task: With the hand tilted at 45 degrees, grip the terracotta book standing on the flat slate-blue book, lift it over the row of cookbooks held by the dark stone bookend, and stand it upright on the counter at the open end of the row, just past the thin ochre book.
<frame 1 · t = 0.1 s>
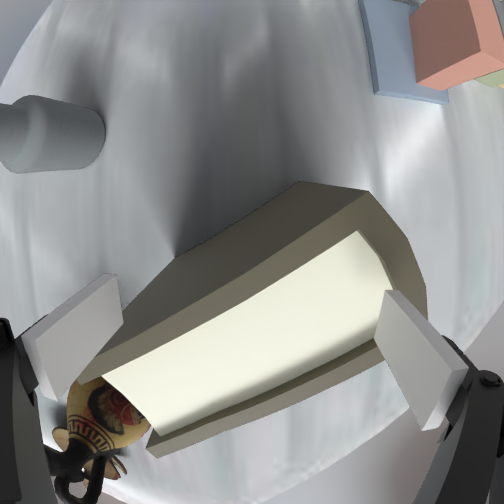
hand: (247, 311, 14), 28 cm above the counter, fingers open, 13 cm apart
ceramic jug: (133, 374, 50), on the counter
oil lamp: (90, 447, 59), on the counter
flat book: (402, 49, 32), on the counter
terracotta book: (425, 52, 30), point 2 cm above the counter, touching flat book
book: (256, 245, 42), on the counter
water bottle: (82, 139, 39), on the counter
row books: (463, 47, 31), on the counter
stone bookend: (462, 42, 30), on the counter
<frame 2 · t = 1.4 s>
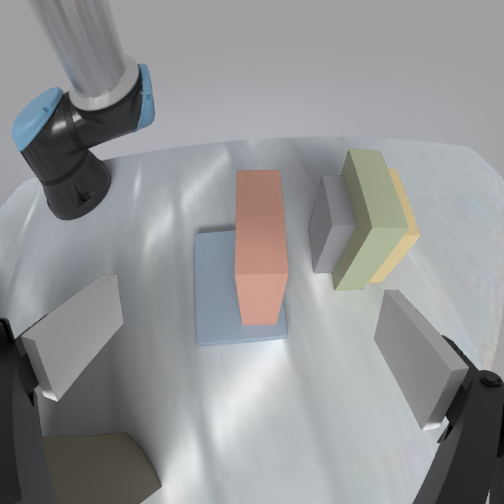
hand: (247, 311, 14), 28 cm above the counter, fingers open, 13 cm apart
flat book: (237, 286, 44), on the counter
terracotta book: (258, 283, 42), point 2 cm above the counter, touching flat book
book: (96, 479, 29), on the counter
row books: (320, 255, 47), on the counter
stone bookend: (320, 250, 47), on the counter
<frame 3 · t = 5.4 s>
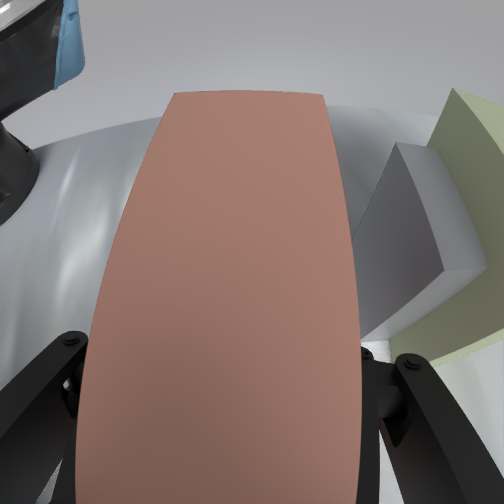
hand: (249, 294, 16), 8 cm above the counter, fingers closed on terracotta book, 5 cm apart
terracotta book: (247, 376, 19), point 2 cm above the counter, touching flat book, gripper
row books: (368, 306, 23), on the counter
stone bookend: (367, 295, 24), on the counter
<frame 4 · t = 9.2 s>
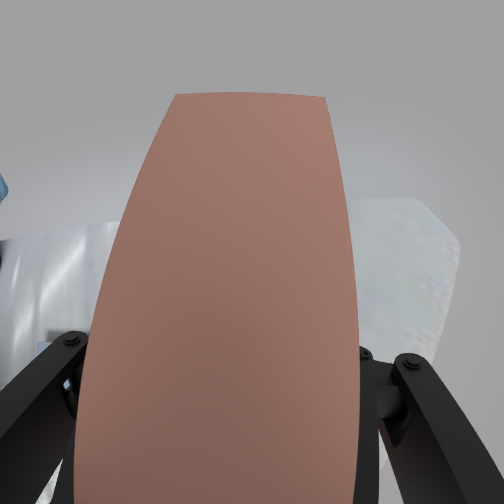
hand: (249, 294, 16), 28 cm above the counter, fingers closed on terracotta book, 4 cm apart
terracotta book: (247, 377, 19), point 22 cm above the counter, touching gripper
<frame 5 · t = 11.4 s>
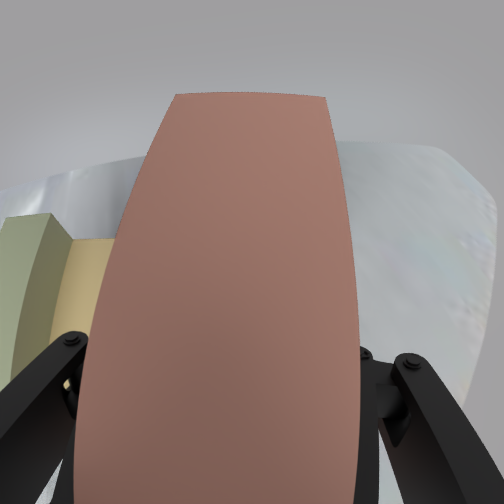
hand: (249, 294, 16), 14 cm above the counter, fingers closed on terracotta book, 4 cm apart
terracotta book: (247, 377, 19), point 8 cm above the counter, touching gripper
row books: (84, 359, 26), on the counter
when the fingers open (7 cm above the counter, at t = 13.0 s): terracotta book drops 2 cm, on the counter.
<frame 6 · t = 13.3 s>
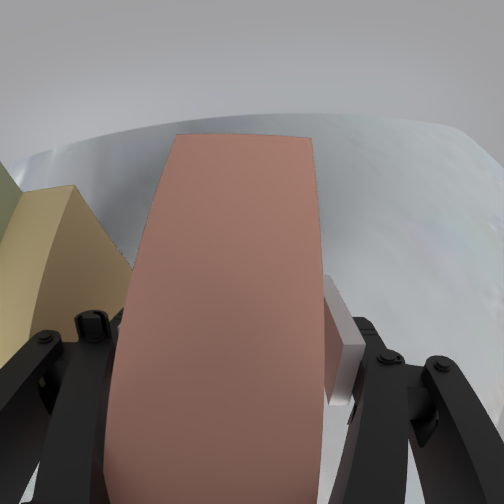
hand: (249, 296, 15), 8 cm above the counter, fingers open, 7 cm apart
terracotta book: (243, 380, 20), on the counter
row books: (54, 359, 20), on the counter
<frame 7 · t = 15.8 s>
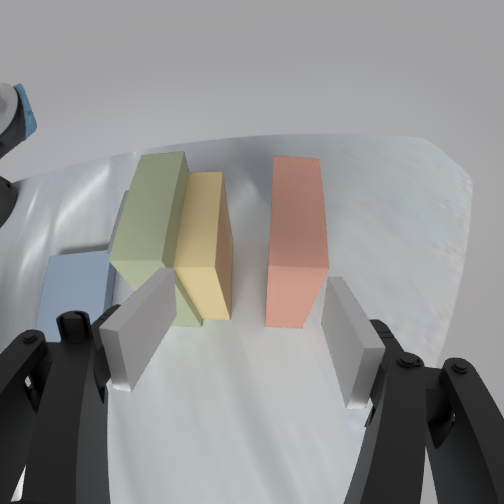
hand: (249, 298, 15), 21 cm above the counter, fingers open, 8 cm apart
flat book: (76, 311, 37), on the counter
terracotta book: (285, 283, 39), on the counter
row books: (161, 282, 39), on the counter
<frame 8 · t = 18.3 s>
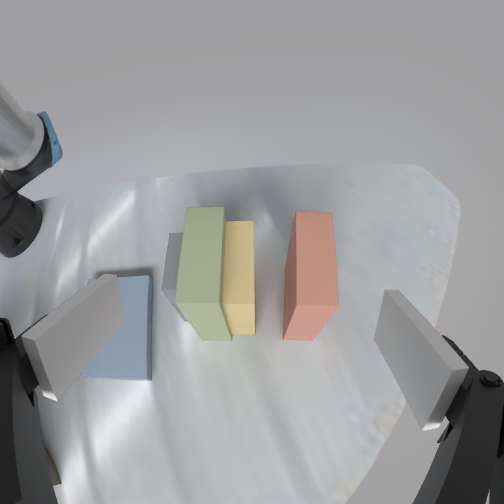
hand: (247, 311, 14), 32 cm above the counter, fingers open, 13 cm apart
flat book: (118, 329, 45), on the counter
terracotta book: (298, 303, 47), on the counter
row books: (195, 303, 47), on the counter
stone bookend: (195, 297, 48), on the counter
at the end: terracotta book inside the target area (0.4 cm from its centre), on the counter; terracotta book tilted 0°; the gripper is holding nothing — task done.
